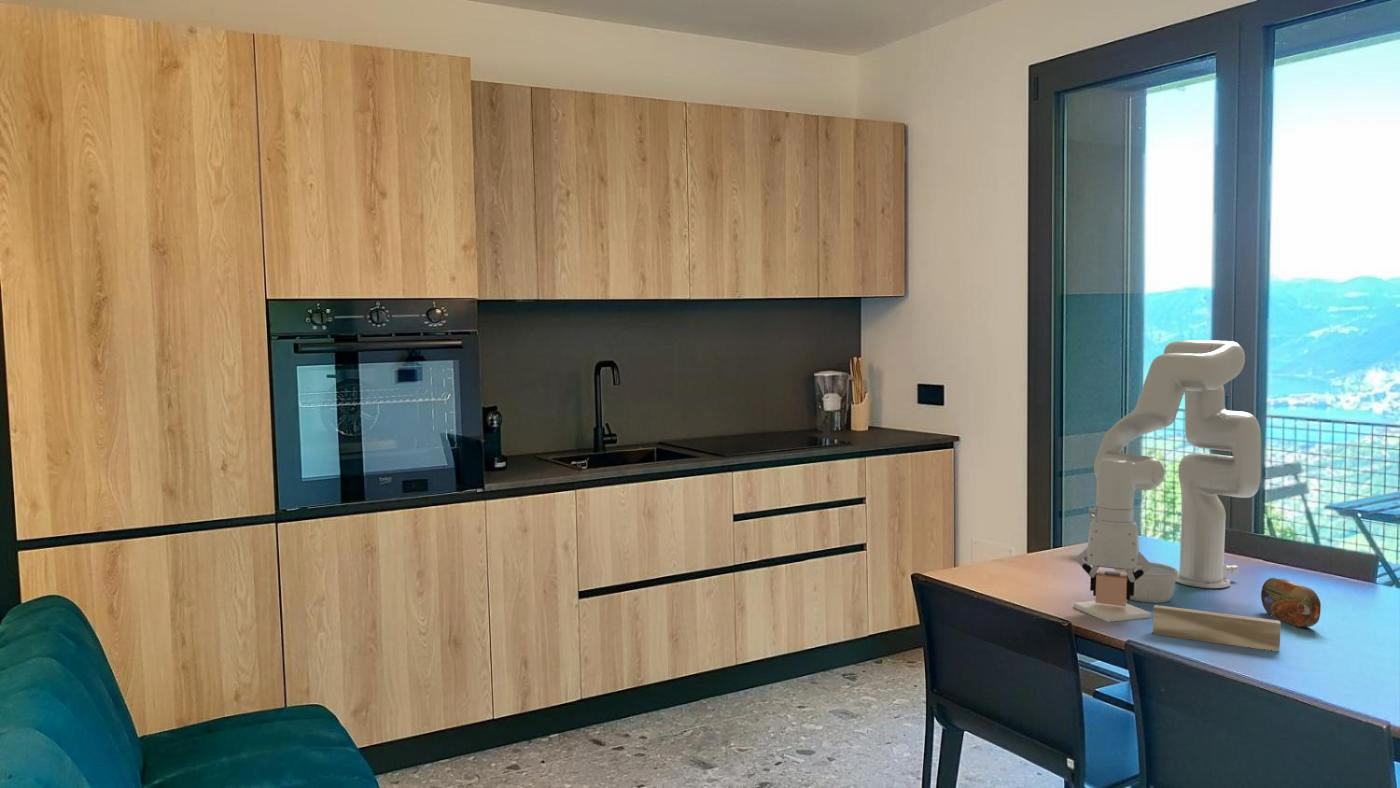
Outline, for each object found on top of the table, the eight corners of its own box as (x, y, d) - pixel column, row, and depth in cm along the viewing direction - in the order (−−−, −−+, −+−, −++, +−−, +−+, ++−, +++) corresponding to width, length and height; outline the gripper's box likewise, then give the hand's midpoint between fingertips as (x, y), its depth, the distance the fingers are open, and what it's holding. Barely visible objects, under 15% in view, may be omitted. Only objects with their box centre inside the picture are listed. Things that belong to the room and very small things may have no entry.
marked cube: (1098, 595, 211) (1099, 568, 211) (1127, 599, 208) (1128, 571, 208) (1095, 602, 206) (1096, 574, 205) (1125, 606, 203) (1126, 578, 202)
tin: (1258, 610, 208) (1260, 573, 208) (1272, 610, 209) (1274, 572, 208) (1308, 632, 193) (1310, 592, 193) (1322, 632, 194) (1324, 592, 193)
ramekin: (1135, 585, 229) (1136, 557, 228) (1188, 599, 217) (1189, 569, 217) (1101, 594, 221) (1102, 565, 221) (1154, 608, 210) (1155, 577, 210)
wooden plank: (1153, 631, 194) (1154, 604, 194) (1278, 648, 184) (1279, 620, 183) (1152, 634, 193) (1153, 607, 192) (1279, 651, 182) (1280, 623, 182)
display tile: (1114, 603, 214) (1114, 598, 214) (1150, 617, 204) (1150, 612, 203) (1073, 607, 211) (1073, 602, 211) (1107, 621, 200) (1108, 617, 200)
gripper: (1069, 514, 206) (1067, 595, 208) (1157, 522, 198) (1154, 606, 200) (1074, 508, 213) (1071, 587, 214) (1159, 515, 205) (1156, 597, 206)
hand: (1111, 595), depth 207 cm, fingers closed on marked cube, 6 cm apart
